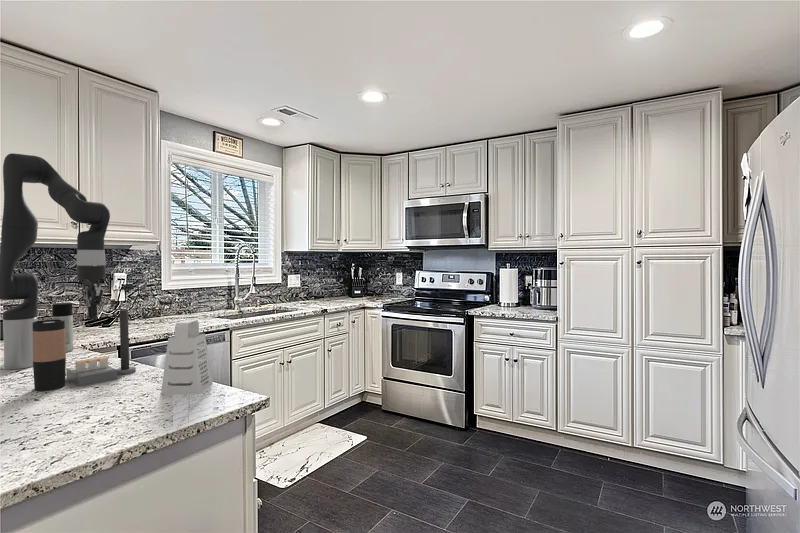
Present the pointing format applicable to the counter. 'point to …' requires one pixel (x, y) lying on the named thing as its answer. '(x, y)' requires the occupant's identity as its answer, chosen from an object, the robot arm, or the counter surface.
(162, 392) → the grater
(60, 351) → the travel mug
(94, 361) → the breaker paddles
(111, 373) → the breaker panel
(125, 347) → the stand
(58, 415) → the counter surface
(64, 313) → the spray can
